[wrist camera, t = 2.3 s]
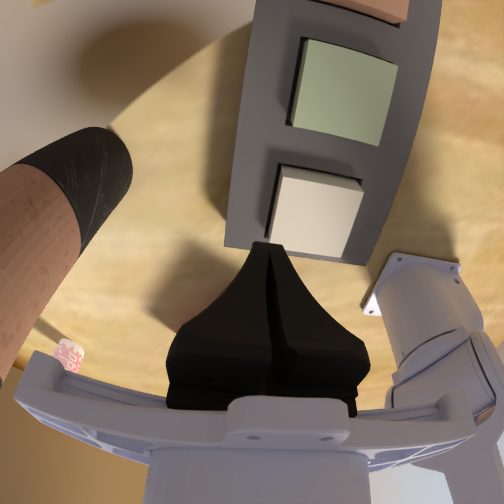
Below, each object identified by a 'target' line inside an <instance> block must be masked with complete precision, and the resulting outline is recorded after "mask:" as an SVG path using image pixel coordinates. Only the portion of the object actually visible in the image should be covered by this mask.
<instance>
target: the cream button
mask: <svg viewBox="0 0 504 504" xmlns="http://www.w3.org/2000/svg"><path fill="white" fill-rule="evenodd" d="M363 194H364V192H363V190H362V189H361V187H360V186H359V184H358V183H357V181H356V180H355V179H350V178H346V177H341V176H337V175H332V174H327V173H322V172H317V171H312V170H306V169H301V168H295V167H289V166H284V165H281V170H280V175H279V181H278V186H277V191H276V196H275V201H274V206H273V211H272V216H271V221H270V226H269V243H274V244H282V245H283V247H284V249H285V250H288V251H295V252H302V253H310V254H317V255H324V256H330V257H337V258H341V256H342V253H343V250H344V248H345V245H346V242H347V240H348V237H349V234H350V232H351V229H352V226H353V223H354V220H355V218H356V215H357V212H358V209H359V206H360V203H361V200H362V197H363Z"/></svg>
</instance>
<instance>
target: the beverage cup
mask: <svg viewBox="0 0 504 504" xmlns="http://www.w3.org/2000/svg"><path fill="white" fill-rule="evenodd" d="M51 356H53V357H55V358H56V359H58V360H59V361H60V362H61V363H62V364H63V366H64V368H65V370H68V371H71V372H74V373H78V370H79V367H80V364H81V361H82V359H83V356H84V351H83V350H82V348H81V347H80V346H79V345H77V344H76V343H74V342H73V341H71V340H68V339H64V338H63V339H61V340H60V341H59V343H58V345H57V347H56V348H55V350H54V352H53V354H52V355H51Z"/></svg>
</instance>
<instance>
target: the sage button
mask: <svg viewBox="0 0 504 504" xmlns="http://www.w3.org/2000/svg"><path fill="white" fill-rule="evenodd" d="M397 70H398V66H397V65H394V64H391V63H389V62H386V61H383V60H381V59H378V58H375V57H372V56H369V55H366V54H363V53H360V52H356V51H353V50H350V49H346V48H343V47H339V46H335V45H332V44H328V43H324V42H319V41H315V40H310V39H309V40H307V41H306V42H304V46H303V52H302V58H301V63H300V69H299V74H298V80H297V85H296V91H295V96H294V102H293V107H292V112H291V118H290V121H291V123H292V125H293V127H298V128H303V129H308V130H313V131H318V132H323V133H327V134H332V135H336V136H340V137H344V138H348V139H352V140H356V141H360V142H364V143H368V144H371V145H375V146H379V142H380V139H381V135H382V132H383V128H384V124H385V120H386V117H387V113H388V109H389V105H390V101H391V96H392V92H393V88H394V83H395V79H396V74H397Z"/></svg>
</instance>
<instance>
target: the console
mask: <svg viewBox="0 0 504 504" xmlns="http://www.w3.org/2000/svg"><path fill="white" fill-rule="evenodd" d="M441 7H442V0H409V6H408V13H407V20H406V21H403V22H398V23H394V24H391V23H389V22H386V21H384V20H381V19H378V18H376V17H373V16H370V15H367V14H364V13H361V12H358V11H355V10H352V9H348V8H345V7H341V6H338V5H334V4H330V3H326V2H322V1H318V0H256V5H255V11H254V18H253V23H252V29H251V35H250V42H249V48H248V55H247V61H246V68H245V75H244V82H243V89H242V96H241V103H240V110H239V118H238V126H237V133H236V141H235V149H234V157H233V166H232V174H231V183H230V192H229V201H228V210H227V219H226V229H225V239H224V247H231V248H238V249H245V250H251V248H252V243H253V242H254V241H259V242H267V243H269V226H270V221H271V216H272V211H273V206H274V201H275V196H276V191H277V186H278V181H279V175H280V170H281V165H284V166H289V167H295V168H301V169H306V170H312V171H317V172H322V173H327V174H332V175H337V176H341V177H346V178H350V179H355V180H356V181H357V183H358V184H359V186H360V187H361V189H362V190H363V192H364V194H363V197H362V200H361V203H360V206H359V209H358V212H357V215H356V218H355V220H354V223H353V226H352V229H351V232H350V234H349V237H348V240H347V242H346V245H345V248H344V250H343V253H342V256H341V258H337V257H330V256H324V255H317V254H310V253H302V252H295V251H288V250H285V251H286V253H287V255H288V256H296V257H303V258H310V259H317V260H324V261H332V262H339V263H346V264H353V265H360V266H366V265H367V263H368V260H369V258H370V256H371V254H372V251H373V249H374V247H375V245H376V242H377V240H378V237H379V235H380V233H381V230H382V228H383V225H384V223H385V220H386V218H387V215H388V213H389V210H390V208H391V205H392V202H393V200H394V197H395V194H396V192H397V189H398V186H399V183H400V181H401V178H402V175H403V172H404V169H405V166H406V163H407V160H408V157H409V154H410V151H411V147H412V144H413V141H414V137H415V134H416V131H417V127H418V124H419V120H420V116H421V113H422V109H423V105H424V101H425V97H426V93H427V89H428V84H429V80H430V75H431V70H432V65H433V60H434V55H435V49H436V44H437V37H438V31H439V24H440V16H441ZM309 39H310V40H315V41H319V42H324V43H328V44H332V45H335V46H339V47H343V48H346V49H350V50H353V51H356V52H360V53H363V54H366V55H369V56H372V57H375V58H378V59H381V60H383V61H386V62H389V63H391V64H394V65H397V66H398V70H397V74H396V79H395V83H394V88H393V92H392V96H391V101H390V105H389V109H388V113H387V117H386V120H385V124H384V128H383V132H382V135H381V139H380V142H379V146H375V145H371V144H368V143H364V142H360V141H356V140H352V139H348V138H344V137H340V136H336V135H332V134H327V133H323V132H318V131H313V130H308V129H303V128H298V127H293V125H292V123H291V121H290V118H291V112H292V107H293V102H294V96H295V91H296V85H297V80H298V74H299V69H300V63H301V58H302V52H303V46H304V42H306V41H307V40H309Z"/></svg>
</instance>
